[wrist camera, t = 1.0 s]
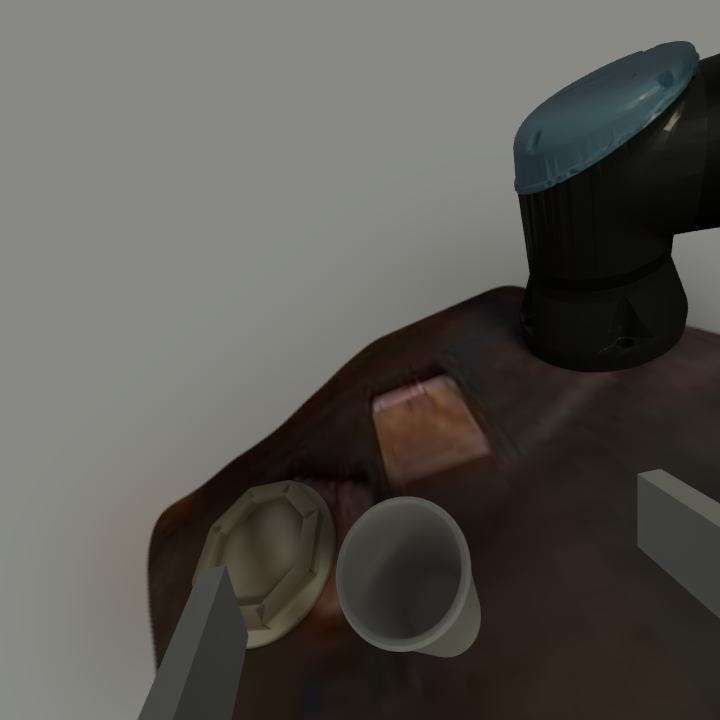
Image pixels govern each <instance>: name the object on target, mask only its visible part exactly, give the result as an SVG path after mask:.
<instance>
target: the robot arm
mask: <svg viewBox="0 0 720 720" xmlns="http://www.w3.org/2000/svg"><path fill="white" fill-rule="evenodd" d="M513 150H514V163H515V176H516V178H515V182H514V187H515V191H517V193H518V197H519V203H520V209H521V217H522V223H523V230H524V236H525V244H526V251H527V258H528V264H529V272H530V275H529V279H528V283H527V287H526V290H525V294H524V298H523V302H522V306H521V310H520V325H521V331H522V336H523V339H524V342H525V343H526V345H527V346H528V348H529V349H530V350H531V351H532V352H533V353H534V354H535V355H537V356H538V357H540V358H541V359H543V360H545V361H547V362H549V363H551V364H554V365H556V366H559V367H563V368H567V369H572V370H578V371H588V372H605V371H615V370H622V369H627V368H631V367H635V366H639V365H642V364H644V363H647V362H649V361H652V360H654V359H656V358H658V357H660V356H661V355H663V354H664V353H666V352H667V351H669V350H670V349H671V348H672V347H673V346H674V345H675V344H676V343H677V342H678V341H679V339H680V338H681V336H682V334H683V332H684V329H685V324H686V319H687V313H688V302H687V297H686V294H685V292H684V289H683V286H682V283H681V281H680V278H679V275H678V273H677V270H676V267H675V265H674V262H673V259H672V257H671V252H672V243H673V237H674V235H675V234H680V233H686V232H692V231H698V230H704V229H711V228H719V227H720V53H719V54H717V55H714V56H711V57H709V58H705V59H702V60H699V54H698V53H697V52H696V50H695V47H694V45H692V44H691V43H690V42H685V41H675V42H670V43H664V44H660V45H657V46H655V47H654V48H651V49H649V50H647V51H644V52H643V51H639V52H636V53H634V54H631V55H628V56H626V57H623V58H621V59H618V60H616V61H614V62H612V63H610V64H607V65H605V66H603V67H601V68H599V69H597V70H595V71H593V72H591V73H589V74H588V75H586V76H584V77H583V78H581V79H579V80H577V81H575V82H574V83H571V84H570V85H568V86H567V87H565V88H563V89H562V90H560V91H559V92H557V93H556V94H554V95H553V96H552V97H550V98H549V99H547V100H546V101H545V102H543V103H542V104H541V105H540V106H538V107H537V108H536V109H535V110H534V111H533V112H532V113H531V114H530V115H529V116H528V117H527V118H526V119H525V120H524V122H523V123H522V125H521V126H520V128H519V130H518V131H517V134H516V137H515V140H514V147H513ZM638 547H639V548H640V549H641V550H642V551H644V552H645V553H646V554H647V555H648V556H649V557H650V558H651V559H653V560H654V561H655V562H656V563H657V564H658V565H659V566H661V567H662V568H663V569H664V570H665V571H666V572H667V573H669V574H670V575H671V576H672V577H673V578H674V579H675V580H676V581H678V582H679V583H680V584H681V585H682V586H683V587H684V588H686V589H687V590H688V591H689V592H690V593H691V594H692V595H694V596H695V597H696V598H697V599H698V600H699V601H700V602H702V603H703V604H704V605H705V606H706V607H707V608H708V609H709V610H711V611H712V612H713V613H714V614H715V615H716V616H717V617H719V618H720V504H719V503H718V502H716V501H714V500H712V499H711V498H709V497H707V496H706V495H704V494H702V493H701V492H699V491H697V490H695V489H694V488H692V487H690V486H689V485H687V484H685V483H684V482H682V481H680V480H678V479H677V478H675V477H673V476H672V475H670V474H668V473H667V472H665V471H663V470H661V469H658V470H653V471H649V472H644V473H640V474H638ZM248 637H249V635H248V632H247V629H246V626H245V623H244V620H243V617H242V614H241V610H240V607H239V604H238V601H237V598H236V595H235V592H234V589H233V586H232V583H231V580H230V577H229V574H228V571H227V568H226V565H224V566H220V567H215V568H211V569H206V570H202V571H200V573H199V575H198V578H197V580H196V582H195V585H194V587H193V589H192V592H191V594H190V597H189V599H188V601H187V604H186V606H185V608H184V611H183V613H182V616H181V618H180V620H179V623H178V625H177V627H176V630H175V632H174V635H173V637H172V639H171V642H170V644H169V647H168V649H167V651H166V654H165V656H164V658H163V661H162V663H161V666H160V668H159V670H158V673H157V675H156V677H155V680H154V683H153V685H152V687H151V690H150V692H149V694H148V697H147V699H146V701H145V704H144V706H143V708H142V711H141V713H140V715H139V718H138V720H231V717H232V713H233V708H234V703H235V699H236V694H237V689H238V684H239V680H240V675H241V670H242V666H243V661H244V656H245V651H246V647H247V642H248Z"/></svg>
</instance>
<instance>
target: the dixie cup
mask: <svg viewBox="0 0 720 720" xmlns="http://www.w3.org/2000/svg"><path fill="white" fill-rule="evenodd" d="M336 588H337V594H338V599H339V602H340V605H341V608H342V611H343V613H344V615H345V617H346V619H347V620H348V622H349V624H350V625H351V626H352V628H353V629H354V630H355V631H356V632H357V633H358V634H359V635H360V636H361V637H362V638H363V639H365V640H366V641H367V642H369V643H370V644H372V645H374V646H376V647H379V648H381V649H384V650H388V651H395V652H406V651H416V652H420V653H425V654H429V655H434V656H438V657H454V656H457V655H459V654H461V653H463V652H464V651H466V650H467V649H468V648H469V647H470V646H471V645H472V643H473V642H474V640H475V639H476V637H477V634H478V631H479V628H480V622H481V611H480V609H481V608H480V603H479V600H478V596H477V592H476V588H475V585H474V581H473V577H472V573H471V560H470V553H469V549H468V546H467V542H466V540H465V537H464V535H463V533H462V531H461V529H460V528H459V526H458V525H457V523H456V522H455V520H454V519H453V518H452V517H451V516H450V515H449V514H448V513H447V512H446V511H445V510H444V509H442V508H441V507H439V506H438V505H436V504H434V503H432V502H430V501H428V500H425V499H422V498H417V497H396V498H391V499H388V500H385V501H383V502H380V503H378V504H377V505H375V506H373V507H372V508H370V509H369V510H367V511H366V512H365V513H364V514H363V515H362V516H361V517H360V518H359V519H358V520H357V521H356V522H355V523H354V525H353V526H352V527H351V529H350V530H349V532H348V534H347V536H346V537H345V540H344V542H343V544H342V547H341V550H340V553H339V556H338V561H337V568H336Z"/></svg>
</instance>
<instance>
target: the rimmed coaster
mask: <svg viewBox="0 0 720 720" xmlns="http://www.w3.org/2000/svg"><path fill="white" fill-rule="evenodd" d="M336 542H337V534H336V525H335V520H334V517H333V514H332V511H331V509H330V507H329V506H328V504H327V502H326V501H325V500H324V499H323V497H322V496H321V495H320V494H319V493H318V492H317V491H315V490H314V489H313V488H311V487H310V486H308V485H306V484H303V483H300V482H294V481H292V480H287V481H282V482H277V483H272V484H267V485H262V486H257V487H252V488H250V489H248V490H247V491H246V492H245V493H244V494H243V495H242V496H241V497H240V498H239V499H238V500H237V501H236V502H235V503H234V504H233V505H232V506H231V507H230V508H229V509H228V510H227V511H226V512H225V513H224V514H223V515H222V516H221V517H220V518H219V519H218V520H217V521H216V522H215V523H214V524H213V525H212V527H211V528H210V530H209V533H208V536H207V539H206V542H205V545H204V548H203V551H202V554H201V557H200V560H199V563H198V566H197V568H196V571H195V574H194V577H193V580H192V582H193V583H192V585H193V587H194V585H195V582H196V580H197V578H198V575H199V573H200V571H202V570H206V569H211V568H215V567H220V566H224V565H226V568H227V571H228V574H229V577H230V580H231V583H232V586H233V589H234V592H235V595H236V598H237V601H238V604H239V607H240V610H241V614H242V617H243V620H244V623H245V626H246V629H247V632H248V635H249V637H248V642H247V647H246V649H252V648H259V647H262V646H265V645H268V644H271V643H273V642H275V641H277V640H279V639H280V638H282V637H283V636H285V635H286V634H288V633H289V632H290V631H291V630H293V629H294V628H295V627H296V626H297V625H298V624H299V623H300V622H301V621H302V620H303V619H304V618H305V617H306V616H307V615H308V613H309V612H310V611H311V609H312V608H313V607H314V605H315V604H316V602H317V600H318V599H319V597H320V595H321V594H322V592H323V590H324V588H325V586H326V584H327V581H328V579H329V576H330V573H331V570H332V567H333V563H334V559H335V553H336Z"/></svg>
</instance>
